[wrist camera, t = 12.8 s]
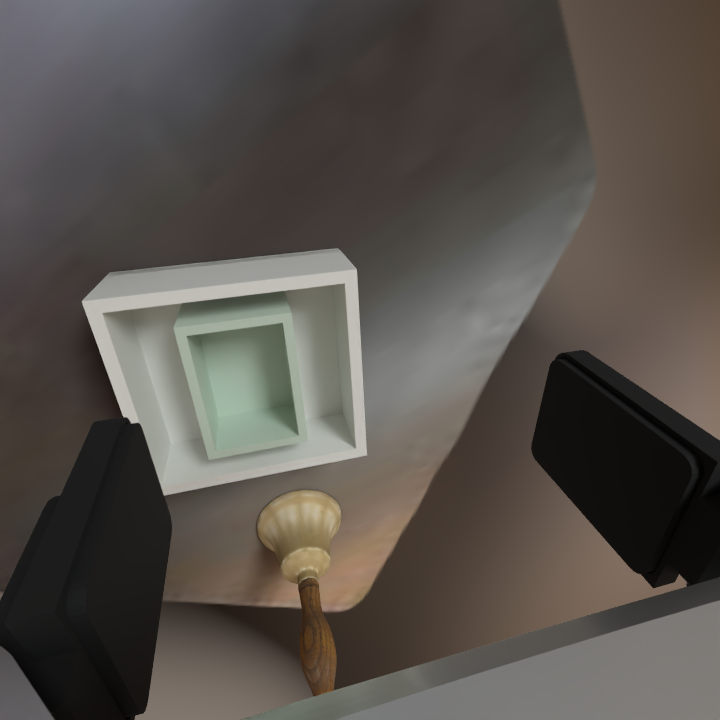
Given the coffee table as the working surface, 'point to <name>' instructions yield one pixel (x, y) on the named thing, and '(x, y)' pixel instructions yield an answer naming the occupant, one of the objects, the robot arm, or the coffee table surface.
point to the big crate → (167, 375)
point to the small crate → (242, 372)
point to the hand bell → (306, 571)
